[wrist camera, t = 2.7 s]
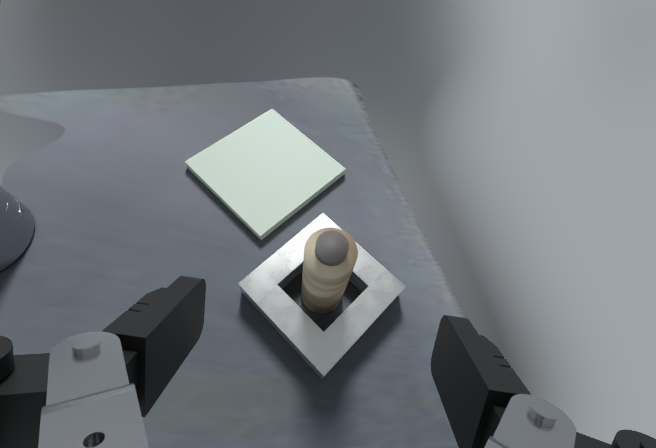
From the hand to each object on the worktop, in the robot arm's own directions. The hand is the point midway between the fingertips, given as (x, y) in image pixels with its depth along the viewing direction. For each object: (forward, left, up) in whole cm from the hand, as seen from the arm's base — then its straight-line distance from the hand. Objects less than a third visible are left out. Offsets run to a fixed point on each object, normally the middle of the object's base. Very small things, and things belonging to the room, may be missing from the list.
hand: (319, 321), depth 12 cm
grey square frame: (+7, +5, -22) cm, 23 cm away
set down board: (+13, +20, -22) cm, 32 cm away
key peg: (+7, +5, -22) cm, 23 cm away
